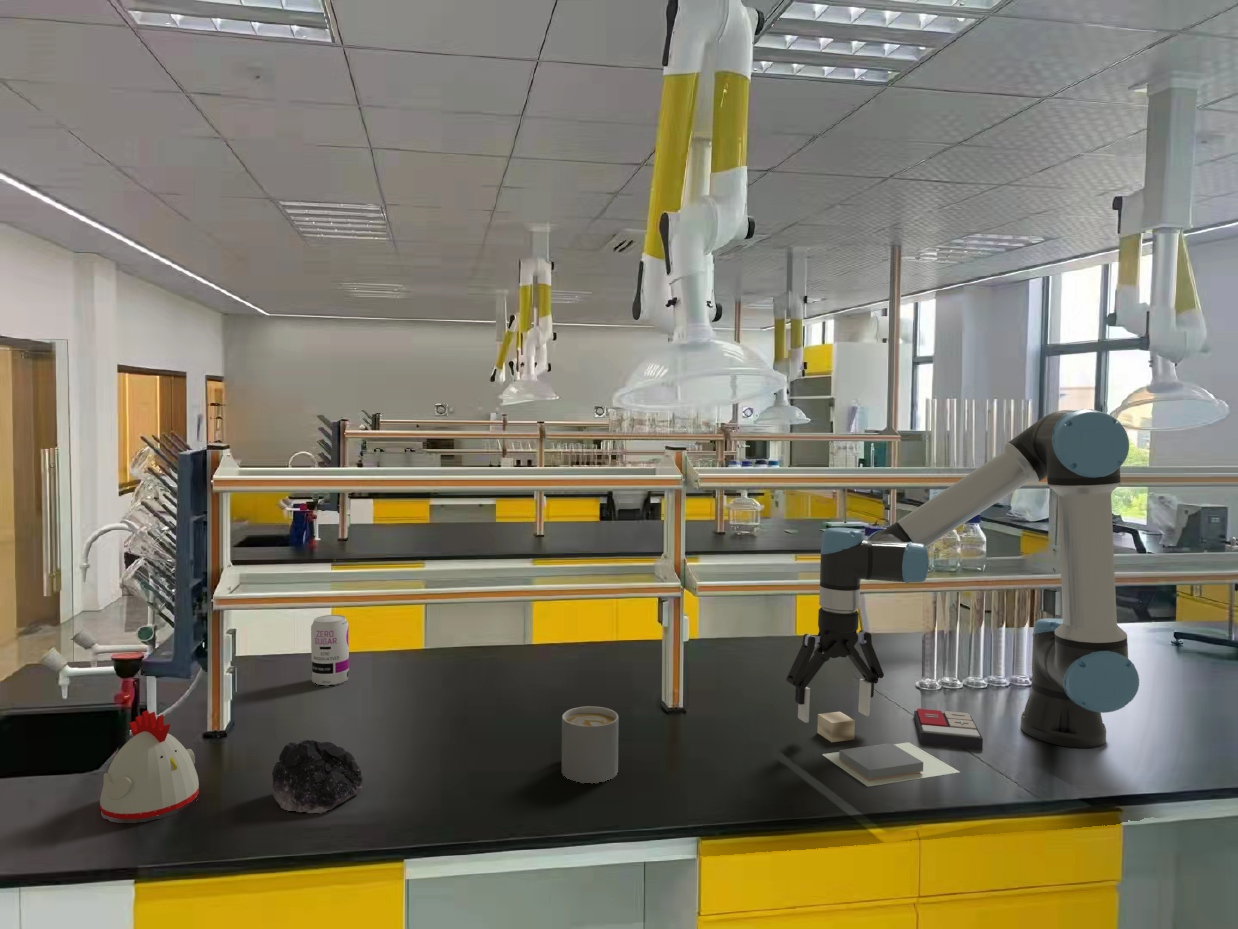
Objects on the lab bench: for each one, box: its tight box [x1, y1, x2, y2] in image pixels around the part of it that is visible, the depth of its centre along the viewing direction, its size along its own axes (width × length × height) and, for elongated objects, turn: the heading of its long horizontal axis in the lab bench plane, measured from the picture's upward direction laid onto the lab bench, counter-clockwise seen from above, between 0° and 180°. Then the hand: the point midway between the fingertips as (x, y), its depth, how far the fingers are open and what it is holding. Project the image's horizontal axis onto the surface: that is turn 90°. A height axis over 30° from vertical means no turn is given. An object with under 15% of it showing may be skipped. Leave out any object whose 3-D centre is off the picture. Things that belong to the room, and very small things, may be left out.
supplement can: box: [310, 614, 350, 685], centre depth 196 cm, size 8×8×15 cm
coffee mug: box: [561, 705, 619, 785], centre depth 150 cm, size 13×10×10 cm
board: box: [821, 742, 961, 787], centre depth 150 cm, size 19×14×1 cm
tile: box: [838, 742, 923, 781], centre depth 148 cm, size 2×9×11 cm
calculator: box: [913, 708, 984, 751], centre depth 165 cm, size 11×4×15 cm
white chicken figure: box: [99, 709, 200, 819], centre depth 134 cm, size 14×14×15 cm
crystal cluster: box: [271, 738, 364, 814], centre depth 137 cm, size 13×14×10 cm
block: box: [817, 711, 856, 743], centre depth 163 cm, size 5×5×5 cm
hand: (834, 717), depth 162 cm, fingers open, 13 cm apart
